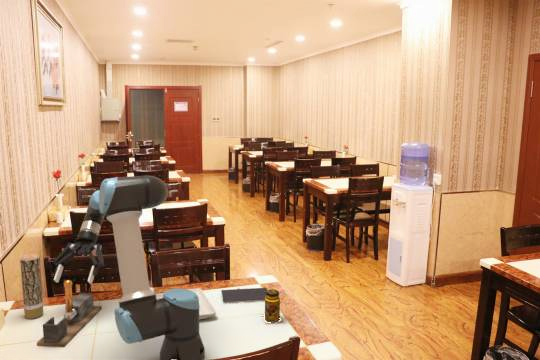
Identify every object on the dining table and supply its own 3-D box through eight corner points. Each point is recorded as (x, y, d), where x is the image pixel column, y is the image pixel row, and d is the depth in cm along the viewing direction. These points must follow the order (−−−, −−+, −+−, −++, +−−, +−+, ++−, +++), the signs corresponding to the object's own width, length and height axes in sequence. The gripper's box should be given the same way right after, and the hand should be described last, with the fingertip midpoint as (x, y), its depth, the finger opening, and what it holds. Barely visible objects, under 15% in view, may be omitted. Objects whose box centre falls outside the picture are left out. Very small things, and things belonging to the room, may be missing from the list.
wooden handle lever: (85, 301, 186) (83, 265, 184) (93, 301, 186) (91, 265, 184) (64, 320, 169) (61, 281, 167) (72, 320, 169) (69, 281, 166)
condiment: (266, 324, 176) (266, 296, 174) (260, 315, 184) (260, 287, 182) (283, 322, 178) (284, 294, 176) (277, 313, 186) (277, 285, 184)
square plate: (138, 304, 193) (138, 295, 192) (200, 294, 204) (200, 286, 203) (147, 333, 168) (147, 323, 168) (217, 320, 179) (217, 311, 178)
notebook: (266, 290, 210) (221, 293, 206) (266, 287, 209) (221, 290, 206) (271, 302, 197) (223, 305, 194) (271, 298, 197) (223, 301, 193)
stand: (78, 307, 188) (77, 290, 186) (101, 308, 187) (101, 291, 186) (37, 345, 158) (35, 325, 156) (64, 347, 157) (63, 326, 156)
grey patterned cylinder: (35, 320, 176) (31, 260, 172) (20, 318, 177) (16, 258, 173) (47, 312, 183) (43, 254, 179) (32, 311, 184) (28, 253, 180)
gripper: (120, 239, 188) (106, 286, 175) (63, 237, 189) (46, 284, 177) (114, 230, 182) (100, 279, 169) (56, 228, 183) (37, 276, 171)
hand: (72, 282), depth 173 cm, fingers open, 13 cm apart
